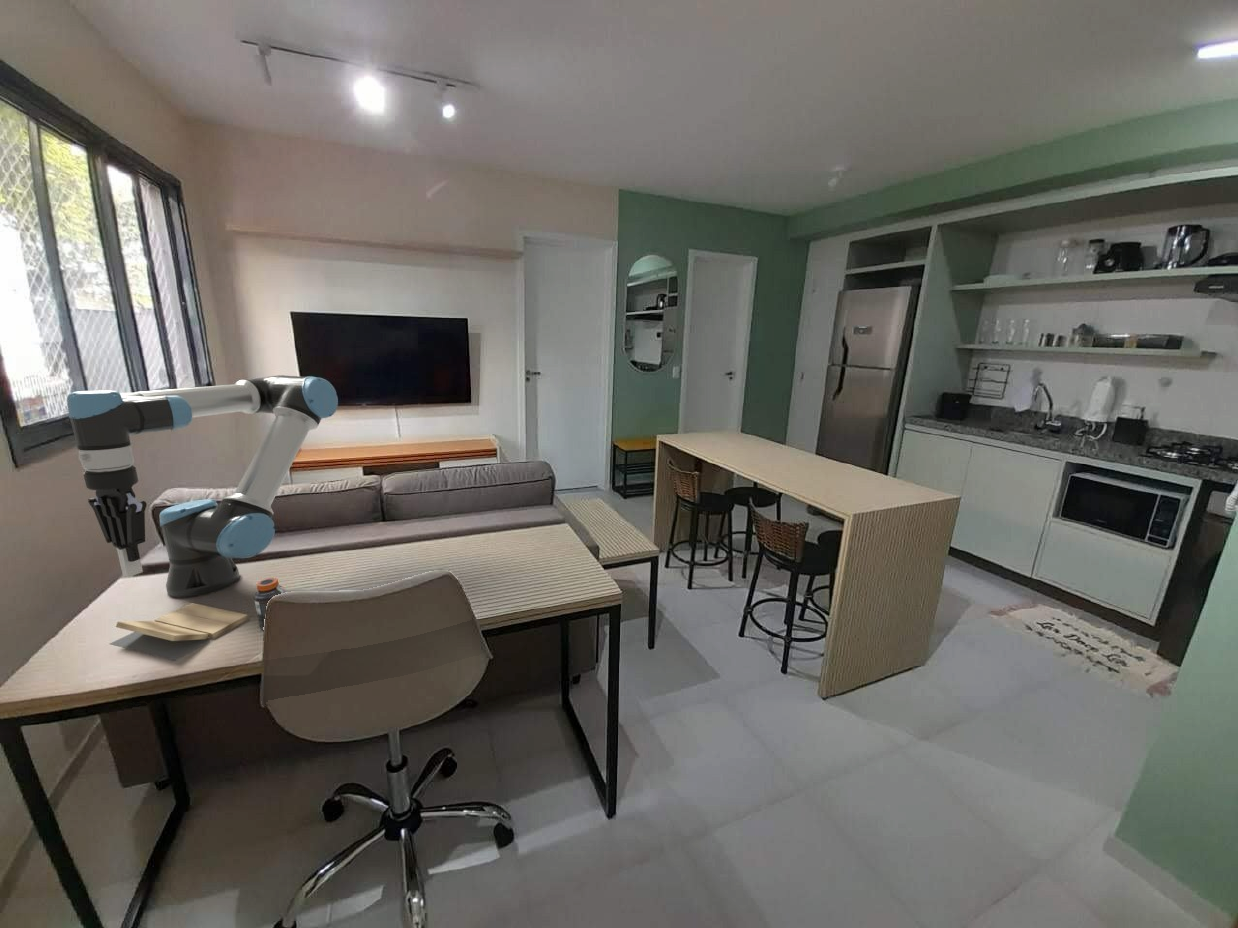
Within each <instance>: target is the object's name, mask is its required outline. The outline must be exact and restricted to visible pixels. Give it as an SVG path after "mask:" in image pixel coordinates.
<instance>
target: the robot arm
mask: <svg viewBox="0 0 1238 928" xmlns="http://www.w3.org/2000/svg"><path fill="white" fill-rule="evenodd" d="M338 398H339V397H338V395H337V391H336V389H335V387H334V386H333V384H331V382H330V381H329V380H327V379H325V378H322V377H316V376H313V375H310V376H309V375H308V376H301V375H300V376H296V375H272V376H271V375H270V376H264V377H257V378H251V379H240V380H238V381H236V382H235V383H234V384H222V385H212V386H211V385H210V386H195V387H185V388H184V387H183V388H182V387H181V388H173V389H172V388H170V389H162V390H161V389H158V390H157V389H156V390H147V391H146V390H144V391H135V392H119V391H117V390H105V389H104V390H101V389H100V390H80V391H72V392H70V393H68V395H67V398H66V401H67V411H68V418H69V419H70V423H71V427H72V432H73V435H74V438H75V443H76V447H77V450H78V456H77V459H78V460H79V461H80V463H81V468H82V469H84V471H83V473H82V474H83V478H84V482H85V487H86V488H87V489H88V490H90V491H95V497H91V498H89V499H87V502H88V504H89V506H90V507H91V509H92V510H93V511H94V515H95V517H96V519H97V522H98V524H99V527H100V529H101V532H102V534H103V537H104V539H105V541H106V543H107V544H110V543H111V544H112V546H113V547H114V548H116V552H117V556H118V560H119V564H120V569H121V573H122V574H121V575H122V577H123V578H130V577H132V576H136V575H138V574H141V573H143V572H144V570H143V566H142V561H141V555H140V552H139V546H138V545H140V544H143V543H145V542H146V521H145V520H146V519H145V518H146V517H145V516H146V515H145V514H146V513H145V511H146V508H147V505H148V504H147V502H146V501H145V500H142V501H139V500H138V499H137V498H136V493H135V492H134V490H133V486H134V485H136V484H137V483H138V482H139V477H138V472H137V468H136V466H135V465H133V464H135V458H134V452H133V448H132V444H131V439H130V436H134V435H135V436H136V435H141V434H148V433H156V432H164V431H174V430H178V429H182V428H186V427H188V426H189V425H190V424H191V422H192V420H193V418H200V417H206V416H215V415H222V414H232V413H239V412H242V413H244V414H248V415H252V414H274V416H275V418H274V420H273V422H272V424H271V426H270V427H269V429H268V431H267V433H266V435H265V436H264V438H263V440H262V442H261V444H260V445H259V447H258V449H257V451H256V452H255V455H254V456H253V458H252V460H251V462H250V464H249V465H248V468H246V471H245V473H244V474H243V476H242V478H241V480H240V481H239V483H238V485H237V487H236V489H235V491H234V492H233V493H232V494H231V495H228V496H225V497H223V498H222V499H221V501H220V504H218V503H217V501H216V499H213V498H212V499H211V498H204V499H198V500H191V501H187V502H183V503H179V504H175V505H171V506H170V507H167V508H164V509H163V510H161V512H160V513H159V526H160V528H161V533H162V535H163V539H164V540H163V541H164V545H165V549H166V554H167V557H168V561H169V569H168V574H167V579H166V583H165V588H166V592H167V595H168V596H169V597H171V598H175V599H189V598H197V597H202V596H207V595H210V594H213V593H216V592H219V591H222V590H224V589H227V588H229V587H230V586H232V585H233V584H235V583H236V582H238V580H239V579H240V577H241V576H240V571H239V568H238V566H237V565H236V564H235V562H234V561H233V559H248V558H252V557H255V556H257V555H259V554H260V553H262V552H264V551H265V550H266V549H267V548H268V547H269V545H270V544H271V542H272V541H273V539H274V536H275V531H276V529H275V528H274V527H275V523H274V520H273V519H272V518H273V516H274V514H275V512H274V511H273V509H272V506H271V505H272V504H273V502H274V500H275V497H277V494H278V493H279V490H280V488H281V486H282V484H283V482H284V480H285V478H286V476H287V474H288V472H289V470H290V468H291V467H292V465H293V463H294V461H295V458H296V456H297V455H298V453H299V450H300V449H301V447H302V444H303V443H304V441H305V439H306V437H307V435H308V433H309V431H311V430H316V429H317V428H318V427H319V425H320V423H321V421H322V419H327V418H329V417H332V416H333V415H334V414H336V411H337V409H338V407H339V406H338V405H339V399H338Z"/></svg>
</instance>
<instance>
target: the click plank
mask: <svg viewBox="0 0 1238 928" xmlns="http://www.w3.org/2000/svg"><path fill="white" fill-rule="evenodd" d="M115 628H116V629H117V628H118V629H121V630H127V631H130V632H138V633H142V634H146V635H150V636H154V637H158V638H162V639H166V640H170V641H182V640H199V639H210V637H208V634H207V633H203V632H198V631H194V630H190V629H185V628H181V627H177V626H173V625H168V624H164V623H160V622H156V621H155V620H144V621H143V620H142V621H137V620H136V621H134V620H133V621H117V623H116V625H115Z"/></svg>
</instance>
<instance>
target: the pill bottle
mask: <svg viewBox="0 0 1238 928" xmlns="http://www.w3.org/2000/svg"><path fill="white" fill-rule="evenodd" d="M256 588H257V590H256V591H255V593H254V594H253V599H254V601H253V602H254V605H255V610H256V616H257V619H258V620H257V621H258V626H259V629H260V630H261V631H263V627H264V619H265V614H266V606H267V603H268V601H269V600H270V599H271V598H272V597H273V596H275V595H278V594H281V593H285V594H286V591H285V587H283V586H282V585H280V584H279V579H278V578H275V577H269V578H264V579H262V580H261V579H260V581H258V582H257V583H256Z"/></svg>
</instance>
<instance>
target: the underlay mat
mask: <svg viewBox="0 0 1238 928" xmlns="http://www.w3.org/2000/svg"><path fill="white" fill-rule="evenodd" d="M253 618H254V617H253V616H249V615H248V620H246V621H244V622H243V623H241V624H239V625H237V626H235V627H234V628H232V629H230V630H228V631H226V632H224V633H223V634H221V635H219V636H217V637H215V638H210V639H199V640H182V641H170V640H166V639H162V638H158V637H154V636H150V635H146V634H142V633H138V632H134V631H132V633H129V634H127V635H125V636H122V637H121V638H118V639H116V640H114V641H112V642H110V643H109V645H112V646H116V647H120V648H122V649H123V648H124V649H128V650H130V651H135V652H139V653H142V654H143V653H144V654H146V655H151V656H154V657H158V658H163V659H166V660H170V661H177V660H179V659H181V658H183V657H184V656H186V655H188V654H191V653H192V652H193V651H195V650H197V649H199V648H201V647H202V646H204V645H206V644H208V643H210V642H213V641H214V640H215V639H218V638H219V637H221V636H223V635H225V634H226V633H228V632H230V631H232V630H233V629H235V628H237V627H239V626H241V625H243V624H244V623H246V622H248V621H250V620H252V619H253Z"/></svg>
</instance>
